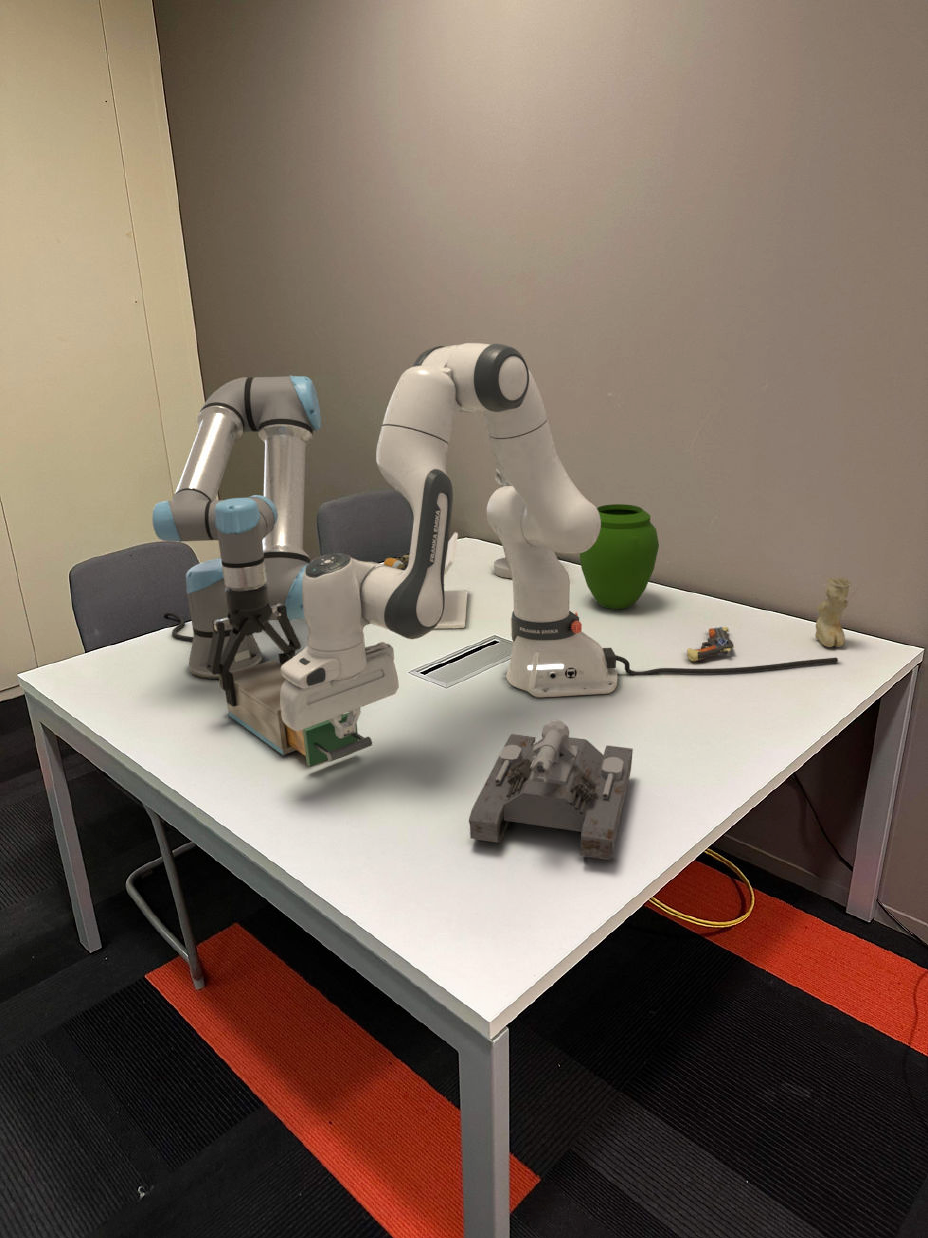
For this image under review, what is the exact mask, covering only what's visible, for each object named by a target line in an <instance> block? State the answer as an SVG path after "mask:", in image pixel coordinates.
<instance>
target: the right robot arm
mask: <svg viewBox="0 0 928 1238" xmlns="http://www.w3.org/2000/svg"><path fill="white" fill-rule="evenodd" d="M477 412H478V413H481V412H482V415H483V419H484V420H483V421H484V424H485V428H486V433H487V436H488V440H489V443H490V446H491V451H492V453H493V457H494V460H495V464H496V469H497V468H498V470H499V472H500V474H501V475H502V477H503V478H504V479H505V480H506V481H507V482H508V483H510V484H511V485H512V486H504V487H502V486H500V487H499V488H497V489H496V490H495V491H494V492H493V493H492V495H490V497H489V500H488V502H487V506H486V512H487V514H486V520H487V523H488V525H489V527H490V528H491V529H492V530H493V532H494V533H495V534H496V536H497V537H498V539H499V540H500V542H502V543H501V546H502V545H503V546H502V548H503V547H504V549H503V551H504V550H505V552H506V555H507V558H508V561H509V564H510V568H511V572H512V578H511V579H512V592H513V593H512V594H513V596H512V597H513V611H512V612H511V618H510V635H511V640H512V645H511V646H512V647H511V655H510V660H509V665H508V669H507V672H506V675H505V678H506V681H507V683H509V684H510V685H511V686H513V687H515V688H517V689H519V690H522V691H525V692H527V693H529V694H530V695H531V696H533V697H535V698H556V697H572V696H573V697H574V696H588V695H589V696H590V695H591V696H592V695H607V694H611V693H612V692H613V691H615V690H616V688H617V686H618V673H617V670H616V668H617V662H620V663H622V664H623V665H624V671H625V673H626V674H627V675H629V676H651V675H657V674H694V675H695V674H696V675H697V674H698V675H699V674H703V675H704V674H732V673H733V674H735V673H749V672H758V671H759V672H760V671H771V670H778V669H785V668H794V667H802V666H811V665H822V664H832V663H838V662H839V658H838V657H828V658H816V659H806V660H797V661H789V662H781V663H772V664H762V665H753V666H752V665H751V666H740V667H719V668H718V667H717V668H687V667H686V668H685V667H684V668H683V667H659V668H658V667H657V668H653V669H649V670H643V671H634V670H632V669H631V668H630V667H631V665H630V662H629V661H628V659H627V658H625V657H623V656H619V655H617V654H616V653H615V652H614V650H613V648H612V647H602V645H601V644H600V643H599V642H598V641H596V640H595V639H593V638H591V637H590V636H589V635H587V634H586V633H585V632H583V631H582V630H583V626H582V625H583V624H582V622H581V621H580V616H579V615H578V612H577V611H575V613H574V612H573V611H571V610H570V590H571V589H570V586H571V585H570V584H571V579H570V576H569V575H570V574H569V572H568V571H567V569H566V568H565V567H564V565H563V564H562V563H561V562H560V561H559V559H558V557H557V555H556V553H559V554H579V553H583V552H585V551H587V550H589V549H590V548H591V547H592V546H593V545H594V543H595V542H596V540H597V538H598V536H599V533H600V529H601V519H600V514H599V512H598V510H597V508H598V507H596V505H594V504H593V503H592V502H590V500H588V499H587V497H585V495H583V494H582V493H581V491H580V489H578V488H577V486H576V485H575V483H574V482H573V481H572V479H571V477H570V476H569V474H568V472H567V470H566V469H565V467H564V465H563V463H562V461H561V459H560V456H559V455H558V451H557V448H556V445H555V442H554V438H553V434H552V430H551V426H550V423H549V418H548V414H547V410H546V406H545V404H544V401H543V398H542V395H541V391H540V389H539V387H538V385H537V383H536V380H535V378H534V376H533V374H532V372H531V370H530V369H529V367H528V365H527V362H526V359H525V358H524V356H523V355H522V353H521V352H520V351H519V350H517V349H516V348H515V347H512V346H511V345H506V344H503V343H492V344H490V343H489V344H488V343H482V342H481V343H480V342H464V343H462V344H456V345H455V344H453V345H447V346H446V345H438V346H434V347H432V348H428V349H425V351H423V352H422V353H420V354H419V356H418V357H416V360H415V361H414V363H413V365H412V367H410V368H407V369H406V370H404V372H403V373H402V374H401V376H400V377H399V379H398V381H397V383H396V386H395V388H394V389H393V391H392V394H391V397H390V399H389V402H388V405H387V408H386V410H385V414H384V417H383V421H382V424H381V427H380V431H379V436H378V440H377V444H376V453H375V462H376V465H377V468H378V471H379V473H380V474H381V476H382V477H383V478H384V480H385V481H386V482H387V484H388V485H389V486H391V487H392V488H393V489H394V490H396V491H397V492H398V493H399V494H401V496H403V498H405V499H406V501H407V503H409V505H410V508H411V511H412V514H413V524H412V530H411V531H412V532H411V539H410V540H411V541H410V549H409V554H408V555H409V563H408V567H407V569H406V570H405V571H404V570H400V569H396V568H392V567H390V566H387V565H383V563H378V562H373V561H362V560H359V559H356V558H353V557H351V556H350V555H348V554H346V553H344V552H343V553H342V552H333V553H327V554H323V555H322V554H321V555H320V556H317V557H316V558H313V559H312V560H310V563H309V564H308V565H307V566H306V568H305V570H304V574H303V581H302V598H303V609H304V617H305V619H304V620H305V622H306V625H307V628H308V629H307V630H308V635H307V646H305V647H304V648H303V649H302V650H301V651H300V652H298V653H296V654H295V655H294V656H293V658H292V659H290V660H289V661H287V662H286V663H284V664H283V665H282V666H281V674H282V676H283V677H284V678H285V679H286V680H285V681H284V683H283V684H282V687H281V692H280V704H281V715H282V720H283V722H284V723H285V724H286V725H287V726H288V727H289V728H291V729H293V730H294V731H300V730H303V729H306V728H308V727H311V726H313V725H316V724H319V723H321V722H324V721H326V720H329V721H330V722H331V723H332V724H333V726H335V734H336V736H337V737H339V738H340V739H341V738H343V737H346V736H348V735H350V734H353V733H355V732H356V722H358V720H359V717H360V716H361V714H362V713H361V712H362V711H361V708H362V707H366V706H368V705H370V704H373V703H375V702H379V701H381V700H383V699H386V698H389V697H391V696H394V695H396V694H397V692H398V690H399V688H400V683H399V678H398V672H397V668H396V664H395V662H394V661H395V652H394V651H395V649H394V647H393V646H392V645H391V644H390V643H387V642H385V641H381V642H378V643H376V644H374V645H373V644H372V645H369V646H368V645H367V646H366V640H365V633H364V628H365V627H366V626H368V625H373V626H376V627H380V628H383V629H386V630H388V631H390V632H392V633H394V634H397V635H399V636H401V637H403V638H405V639H409V640H417V639H420V638H422V637H424V636H426V635H428V634H429V633H430V632H431V631H433V630H434V628H435V627H436V626H437V624H438V623H439V621H440V620H441V618H442V615H443V612H444V606H445V593H444V591H445V575H446V574H445V565H446V557H447V548H448V542H449V540H450V532H451V531H450V530H451V522H452V513H453V500H454V499H453V498H454V490H453V483H452V481H451V479H450V478H449V476H448V474H447V473H448V472H447V454H448V453H447V452H448V449H449V444H450V440H451V435H452V431H453V425H454V420H455V417H456V416H457V414H458V413H477ZM444 574H445V575H444ZM348 712H349V714H348V717H347V720H346V722H343V723H341V724H340V723H339V722H338V721H340V720H341V715H342V714H346V713H348Z"/></svg>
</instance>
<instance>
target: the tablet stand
mask: <svg viewBox="0 0 928 1238" xmlns="http://www.w3.org/2000/svg"><path fill="white" fill-rule="evenodd" d="M458 537H459V533H458V532H456V531H455V532H453V534H452V535H451V537H450V538H449V540H448V548H447V557H446V565H445V574H444V576H445V575H446V574H447V573H448V571H449V570H450V569H451V567H452V566H453V564H454V562H455V558H456V553H457V545H458ZM444 593H445V606H444V612H443V615H442V618H441V620H440V621H439V623H438V624H437V626H436V627H435V628H434V629H435V630H436V629H437V630H438V629H464V628H465V627H466V618H467V617H466V616H467V605H468V591H467V590H444ZM434 629H433V630H434Z"/></svg>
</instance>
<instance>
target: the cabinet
mask: <svg viewBox="0 0 928 1238" xmlns="http://www.w3.org/2000/svg"><path fill="white" fill-rule="evenodd" d="M282 665H283V664H282V663H280V662H279V661H278V660H277V659H272V660H269V661H265V662H262V663H261V664H258V665H255V666H252V667H248V668H245V669H242V670H238V671H235V672H232V674H233V681H234V688H235V696H236V703H237V706H234V707H233V706H231V705H230V704H229V703H227V702H226V704H227V710H228V716H229V717H230V718H231V719H232V720H234V721H236V722H237V723H238V724H239V725H241V726H242V727H244V728H245V729H246V730H248V731H249V732H250V733H251V734H253V735H254V736H256V737H257V738H259V739H260V740H261V741H263V742H264V743H265V744H267V745H268V746H269V747H270V748H273V749H274V750H275V751H276V752H278V753H279V754H280V755H282V756H285V755H287V754H290V753H294V752H295V751H297V750H296V749H295V748H293V747H292V746H290V745H289V744H288V743H287V742H286V734H285V726H284V722H283V720H282V715H281V704H280V692H281V687H282V684H283V683H284V681H285V680H286V679H285V678H284V677H283V676H282V674H281V666H282Z"/></svg>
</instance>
